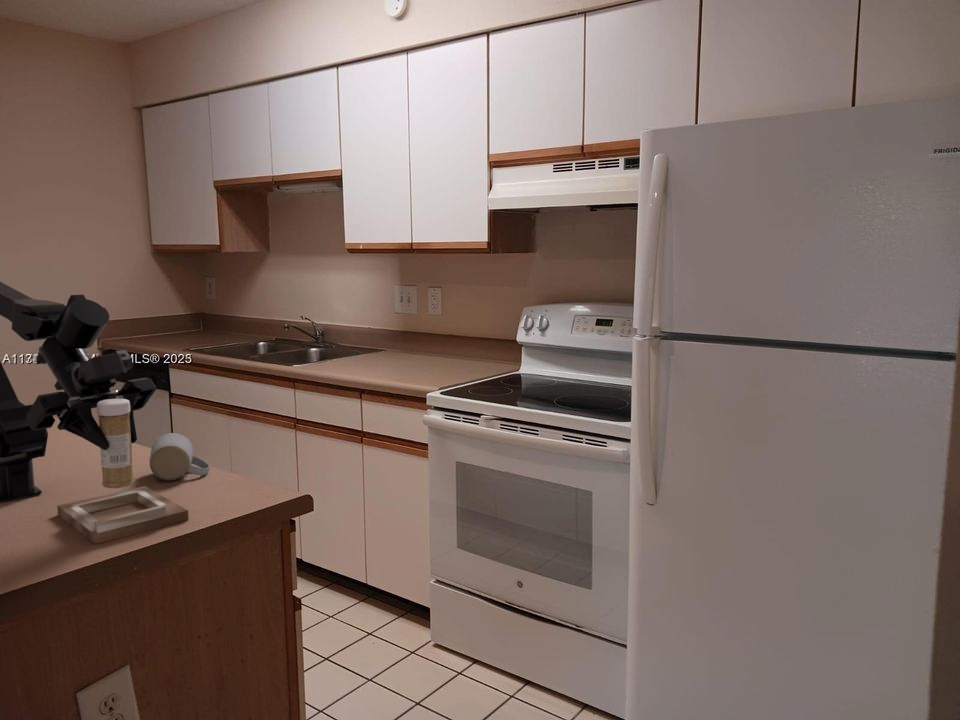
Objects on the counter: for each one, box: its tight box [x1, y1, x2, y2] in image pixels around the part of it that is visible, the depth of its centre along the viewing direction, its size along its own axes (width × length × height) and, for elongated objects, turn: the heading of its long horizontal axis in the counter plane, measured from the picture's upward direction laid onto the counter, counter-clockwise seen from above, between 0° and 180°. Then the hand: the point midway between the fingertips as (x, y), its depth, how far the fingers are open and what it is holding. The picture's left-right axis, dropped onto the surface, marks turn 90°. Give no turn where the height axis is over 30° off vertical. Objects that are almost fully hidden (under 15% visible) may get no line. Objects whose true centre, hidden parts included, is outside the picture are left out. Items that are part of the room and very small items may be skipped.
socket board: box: [56, 485, 189, 545], centre depth 116 cm, size 17×14×3 cm
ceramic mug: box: [148, 432, 211, 482], centre depth 138 cm, size 11×8×8 cm
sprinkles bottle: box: [96, 399, 135, 489], centre depth 111 cm, size 5×5×14 cm
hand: (121, 444), depth 110 cm, fingers closed on sprinkles bottle, 4 cm apart
